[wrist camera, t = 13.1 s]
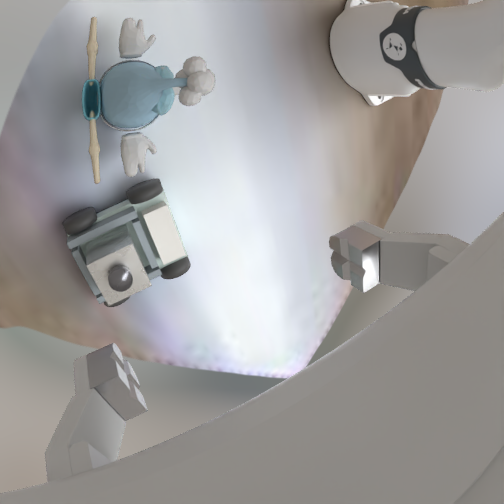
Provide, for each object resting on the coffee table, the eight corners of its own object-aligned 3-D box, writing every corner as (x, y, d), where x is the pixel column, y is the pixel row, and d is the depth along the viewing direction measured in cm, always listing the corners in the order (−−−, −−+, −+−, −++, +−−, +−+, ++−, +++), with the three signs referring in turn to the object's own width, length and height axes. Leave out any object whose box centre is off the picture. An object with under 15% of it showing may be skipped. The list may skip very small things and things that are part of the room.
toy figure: (177, 163, 36) (225, 189, 24) (89, 176, 32) (85, 210, 20) (176, 28, 29) (226, -19, 17) (85, 33, 25) (82, -19, 13)
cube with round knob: (125, 224, 34) (133, 247, 28) (142, 261, 36) (153, 290, 31) (86, 243, 32) (86, 270, 27) (105, 279, 35) (109, 311, 29)
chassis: (156, 176, 36) (163, 183, 32) (185, 256, 41) (195, 271, 38) (63, 218, 32) (60, 230, 29) (103, 294, 38) (105, 313, 34)
